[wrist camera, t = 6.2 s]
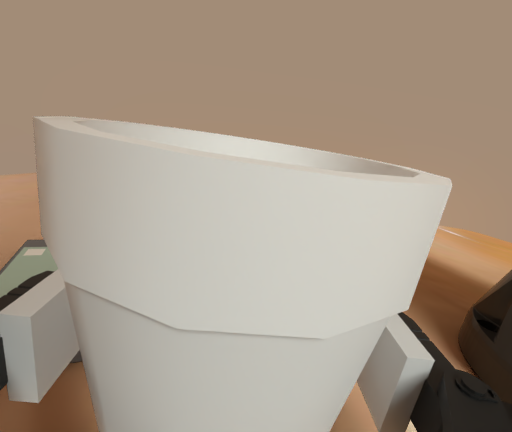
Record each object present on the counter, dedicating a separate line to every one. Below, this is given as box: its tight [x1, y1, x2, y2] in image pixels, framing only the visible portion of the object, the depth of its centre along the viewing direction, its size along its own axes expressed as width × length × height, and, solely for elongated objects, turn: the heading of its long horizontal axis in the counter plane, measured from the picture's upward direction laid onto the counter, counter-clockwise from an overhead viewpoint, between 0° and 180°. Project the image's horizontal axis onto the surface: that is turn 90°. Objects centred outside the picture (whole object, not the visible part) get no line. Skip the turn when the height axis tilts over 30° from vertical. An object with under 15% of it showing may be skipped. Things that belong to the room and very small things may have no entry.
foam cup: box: [33, 116, 452, 432], centre depth 10 cm, size 10×9×13 cm
